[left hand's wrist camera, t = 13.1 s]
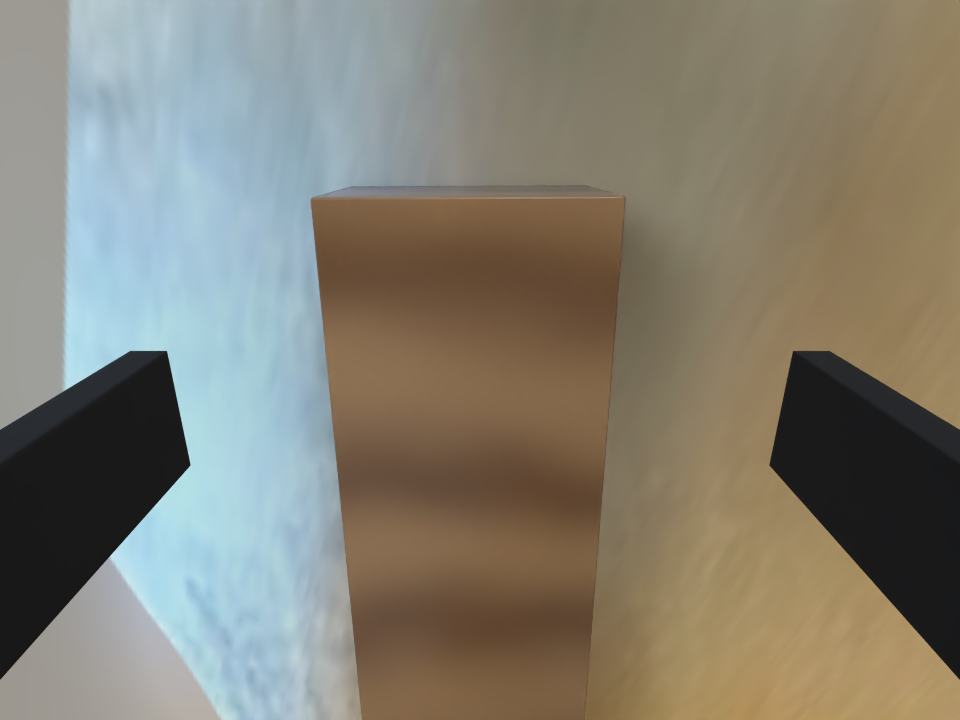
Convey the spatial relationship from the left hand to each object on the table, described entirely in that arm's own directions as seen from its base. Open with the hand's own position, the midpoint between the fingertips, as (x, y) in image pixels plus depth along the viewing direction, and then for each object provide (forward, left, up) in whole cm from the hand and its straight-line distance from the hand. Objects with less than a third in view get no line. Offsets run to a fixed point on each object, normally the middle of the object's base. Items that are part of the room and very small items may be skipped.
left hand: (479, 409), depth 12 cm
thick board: (+21, +4, -14) cm, 26 cm away
